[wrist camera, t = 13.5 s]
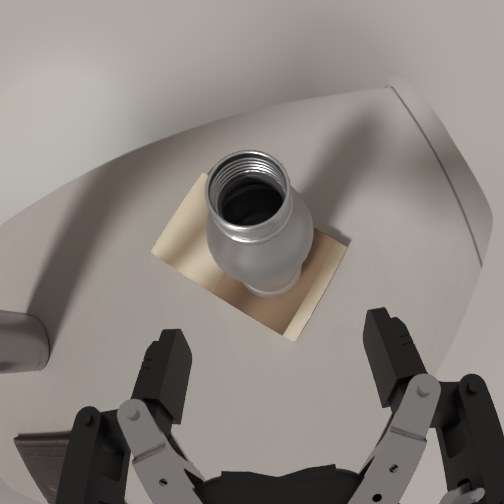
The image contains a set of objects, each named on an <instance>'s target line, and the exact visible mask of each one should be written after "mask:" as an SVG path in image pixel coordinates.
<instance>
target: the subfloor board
mask: <svg viewBox="0 0 504 504" xmlns="http://www.w3.org/2000/svg"><path fill="white" fill-rule="evenodd" d="M207 178H208V175H207V174H205V173H202V174H201V176H200V177H199V179H198V180H197V182H196V183H195V184H194V186H193V187H192V189H191V190H190V192H189V193H188V195H187V196H186V197H185V199H184V200H183V202H182V203H181V205H180V206H179V208H178V209H177V211H176V212H175V214H174V215H173V217H172V219H171V220H170V222H169V223H168V225H167V226H166V228H165V229H164V231H163V233H162V234H161V236H160V237H159V239H158V241H157V242H156V244H155V246H154V247H153V249H152V250H151V253H153V254H154V255H156V256H157V257H158V258H160V259H161V260H163V261H164V262H166V263H167V264H169V265H170V266H172V267H173V268H175V269H176V270H178V271H179V272H181V273H182V274H184V275H185V276H187V277H188V278H190V279H191V280H193V281H194V282H196V283H198V284H199V285H201V286H202V287H204V288H205V289H207V290H208V291H210V292H212V293H213V294H215V295H216V296H218V297H219V298H221V299H223V300H224V301H226V302H227V303H229V304H231V305H232V306H234V307H235V308H237V309H239V310H240V311H242V312H244V313H245V314H247V315H249V316H250V317H252V318H254V319H255V320H257V321H259V322H260V323H262V324H264V325H265V326H267V327H269V328H270V329H272V330H274V331H276V332H277V333H279V334H281V335H283V336H285V337H286V338H288V339H290V340H292V341H293V342H295V341H296V339H297V338H298V336H299V334H300V333H301V331H302V329H303V328H304V326H305V324H306V322H307V321H308V319H309V317H310V316H311V314H312V312H313V310H314V309H315V307H316V305H317V303H318V302H319V300H320V298H321V296H322V294H323V293H324V291H325V289H326V287H327V285H328V283H329V282H330V280H331V278H332V276H333V274H334V272H335V270H336V268H337V266H338V265H339V263H340V261H341V259H342V257H343V255H344V253H345V251H346V249H347V247H346V246H344V245H343V244H341V243H339V242H337V241H336V240H335V239H333V238H331V237H329V236H328V235H326V234H324V233H322V232H320V231H318V230H317V229H315V228H313V241H312V245H311V249H310V251H309V253H308V255H307V258H306V259H305V261H304V262H303V263H302V271H301V275H300V278H299V280H298V282H297V284H296V285H295V286H294V288H293V289H292V290H290V291H289V292H288V293H286V294H285V295H283V296H280V297H277V298H263V297H260V296H257V295H255V294H254V293H252V292H251V291H249V290H248V289H247V288H246V287H245V285H244V284H243V282H241V281H238V280H236V279H234V278H232V277H231V276H229V275H228V274H226V273H225V272H224V271H223V270H222V269H221V268H220V267H219V266H218V265H217V263H216V262H215V261H214V259H213V257H212V255H211V253H210V251H209V247H208V244H207V238H206V222H207V215H208V212H209V209H208V207H207V203H206V199H205V185H206V181H207Z"/></svg>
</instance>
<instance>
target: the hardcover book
mask: <svg viewBox="0 0 504 504" xmlns="http://www.w3.org/2000/svg"><path fill="white" fill-rule="evenodd" d="M69 439H70V435H58V436H40V437H15V438H14V443H15V445H16V447H17V449H18V451H19V453H20V455H21V457H22V459H23V461H24V463H25V465H26V467H27V469H28V471H29V472H30V474H31V476H32V478H33V479H34V481H35V483H36V484H37V486H38V488H39V489H40V491H41V492H42V494H43V496H44V497H45V499H46V500H47V502H48V503H49V504H55V503H56V497H57V491H58V486H59V481H60V476H61V471H62V467H63V462H64V458H65V454H66V450H67V446H68V442H69Z"/></svg>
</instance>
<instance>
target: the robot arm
mask: <svg viewBox="0 0 504 504" xmlns="http://www.w3.org/2000/svg"><path fill="white" fill-rule="evenodd" d="M363 344H364V348H365V351H366V354H367V357H368V360H369V364H370V367H371V370H372V373H373V377H374V380H375V383H376V387H377V390H378V394H379V397H380V401H381V405H382V408H386V407H389V406H390V407H391V411H392V414H391V415H390V418H389V420H388V422H387V424H386V426H385V428H384V430H383V432H382V434H381V436H380V438H379V440H378V442H377V444H376V445H375V447H374V449H373V451H372V452H371V454H370V455H369V457H368V459H367V460H366V462H365V463H364V465H363V467H362V468H361V470H360V472H359V473H355V472H353V471H349V470H345V469H337V468H336V466H335V464H332V465H326V466H319V467H312V468H306V469H303V470H300V471H297V472H294V473H291V474H287V475H284V476H280V477H274V476H268V475H263V474H258V473H253V472H230V471H222V473H221V476H219V477H215V478H212V479H210V480H207V481H206V480H205V478H204V477H203V476H202V474H201V473H200V472H199V471H198V470H197V469H196V467H195V466H194V465H193V464H192V463H191V461H190V460H189V459H188V457H187V456H186V454H185V453H184V451H183V449H182V448H181V446H180V445H179V443H178V442H177V440H176V438H175V437H174V435H173V433H172V432H171V427H172V424H180V425H181V419H182V413H183V407H184V402H185V396H186V391H187V386H188V380H189V375H190V370H191V365H192V353H191V350H190V348H189V346H188V343H187V341H186V339H185V337H184V335H183V333H182V331H181V329H164V330H162V332H161V335H160V338H159V341H153V342H152V344H151V345H150V346H149V347H148V349H147V350H146V353H145V356H144V359H143V360H144V361H143V362H142V365H141V369H140V371H139V374H138V378H137V381H136V384H135V387H134V390H133V394H132V396H131V399H130V400H127V401H125V402H124V403H122V404H121V406H120V407H119V409H117V410H111V411H105V412H100V411H99V410H97V409H96V408H95V407H92V406H87V407H84V408H82V409H81V410H80V411H79V412H78V413H77V415H76V418H75V421H74V424H73V428H72V431H71V435H70V439H69V442H68V446H67V450H66V454H65V458H64V462H63V467H62V471H61V476H60V481H59V486H58V491H57V497H56V503H55V504H124V497H125V489H126V481H127V474H128V467H129V461H130V454H131V452H132V454H133V456H134V460H132V464H133V467H134V469H135V471H136V473H137V475H138V477H139V479H140V481H141V483H142V485H143V487H144V488H145V490H146V492H147V494H148V496H149V497H150V499H151V501H152V502H153V504H399V501H400V499H401V497H402V495H403V494H404V492H405V490H406V488H407V486H408V484H409V482H410V480H411V478H412V476H413V474H414V472H415V470H416V468H417V466H418V463H419V461H420V459H421V457H422V454H423V452H424V449H425V447H426V443H427V440H426V434H427V432H428V429H429V428H435V429H436V432H437V437H438V441H439V446H440V450H441V455H442V460H443V465H444V471H445V477H446V483H447V490H448V492H447V493H446V494H445V495H444V496H443V498H442V499H441V501H440V503H439V504H504V435H503V431H502V428H501V425H500V422H499V419H498V416H497V413H496V410H495V407H494V404H493V401H492V399H491V396H490V393H489V392H488V389H487V386H486V383H485V381H484V380H483V379H482V378H481V377H480V376H479V375H476V374H468V375H466V376H464V377H463V378H462V379H461V381H460V382H440V381H438V380H437V379H436V378H435V377H434V376H432V375H429V374H428V373H427V371H426V369H425V367H424V364H423V362H422V360H421V358H420V355H419V353H418V351H417V349H416V346H415V344H413V340H412V338H411V336H410V334H409V331H408V329H407V327H406V325H405V324H404V323H403V322H402V321H401V320H400V319H399V318H397V317H394V318H390V316H389V314H388V311H387V310H386V308H385V307H382V308H376V309H371V310H368V311H367V314H366V320H365V325H364V331H363ZM48 356H49V344H48V338H47V334H46V331H45V329H44V327H43V325H42V323H41V322H40V321H39V320H38V319H37V318H35V317H33V316H28V315H27V313H20V312H12V311H4V310H0V374H5V373H18V372H28V371H37V370H41V369H43V368H44V367H45V366H46V363H47V361H48Z"/></svg>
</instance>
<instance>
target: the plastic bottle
mask: <svg viewBox="0 0 504 504" xmlns="http://www.w3.org/2000/svg"><path fill="white" fill-rule="evenodd" d="M205 199H206V203H207V207H208V209H209V212H208V215H207V222H206V238H207V244H208V247H209V251H210V253H211V255H212V257H213V259H214V261H215V262H216V263H217V265H218V266H219V267H220V268H221V269H222V270H223V271H224V272H225V273H226V274H228V275H229V276H231V277H232V278H234V279H236V280H238V281H241V282H243V284H244V285H245V287H246V288H247V289H248V290H249V291H251V292H252V293H254V294H255V295H257V296H260V297H263V298H277V297H280V296H283V295H285V294H286V293H288V292H289V291H290V290H292V289H293V288H294V286H295V285H296V284H297V282H298V280H299V278H300V275H301V271H302V263H303V262H304V261H305V259H306V258H307V255H308V253H309V251H310V249H311V245H312V241H313V222H312V216H311V214H310V211H309V209H308V207H307V205H306V203H305V202H304V200H303V199H302V197H301V196H300V194H299V193H298V192H297V191H296V190H295V189H294V188H293V187H292V186H291V184H290V179H289V177H288V174H287V172H286V170H285V169H284V167H283V166H282V164H281V163H280V162H279V161H278V160H277V159H275V158H274V157H272V156H271V155H269V154H267V153H264V152H261V151H256V150H243V151H238V152H235V153H232V154H230V155H228V156H226V157H224V158H223V159H221V160H220V161H219V162H218V163H217V164H216V165H215V166H214V167H213V168H212V170H211V172H210V173H209V175H208V178H207V181H206V185H205Z"/></svg>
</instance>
